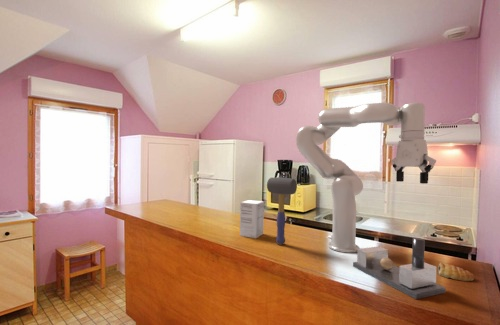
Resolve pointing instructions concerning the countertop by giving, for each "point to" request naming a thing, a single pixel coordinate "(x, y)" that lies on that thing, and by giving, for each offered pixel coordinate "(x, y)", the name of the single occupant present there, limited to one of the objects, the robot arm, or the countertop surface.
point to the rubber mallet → (281, 201)
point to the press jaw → (417, 268)
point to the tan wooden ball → (386, 264)
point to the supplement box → (251, 218)
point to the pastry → (454, 272)
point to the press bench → (390, 273)
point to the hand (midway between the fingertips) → (411, 182)
